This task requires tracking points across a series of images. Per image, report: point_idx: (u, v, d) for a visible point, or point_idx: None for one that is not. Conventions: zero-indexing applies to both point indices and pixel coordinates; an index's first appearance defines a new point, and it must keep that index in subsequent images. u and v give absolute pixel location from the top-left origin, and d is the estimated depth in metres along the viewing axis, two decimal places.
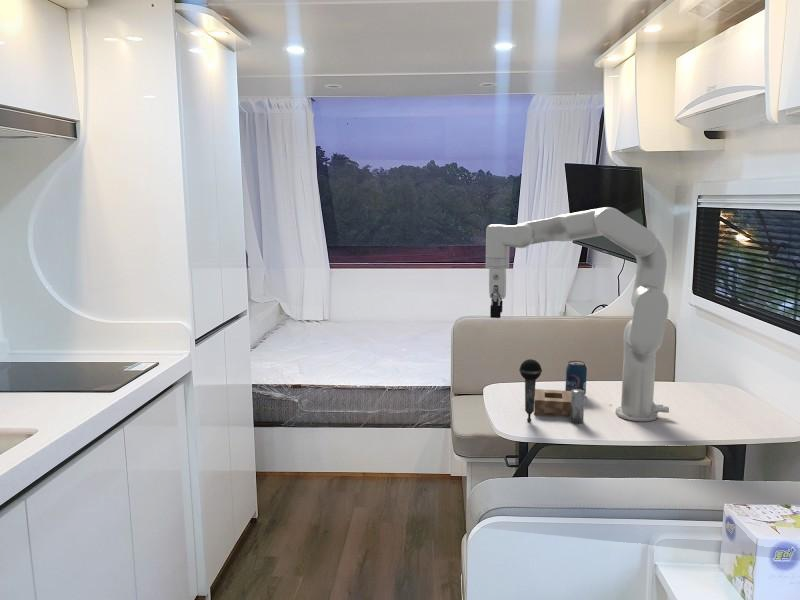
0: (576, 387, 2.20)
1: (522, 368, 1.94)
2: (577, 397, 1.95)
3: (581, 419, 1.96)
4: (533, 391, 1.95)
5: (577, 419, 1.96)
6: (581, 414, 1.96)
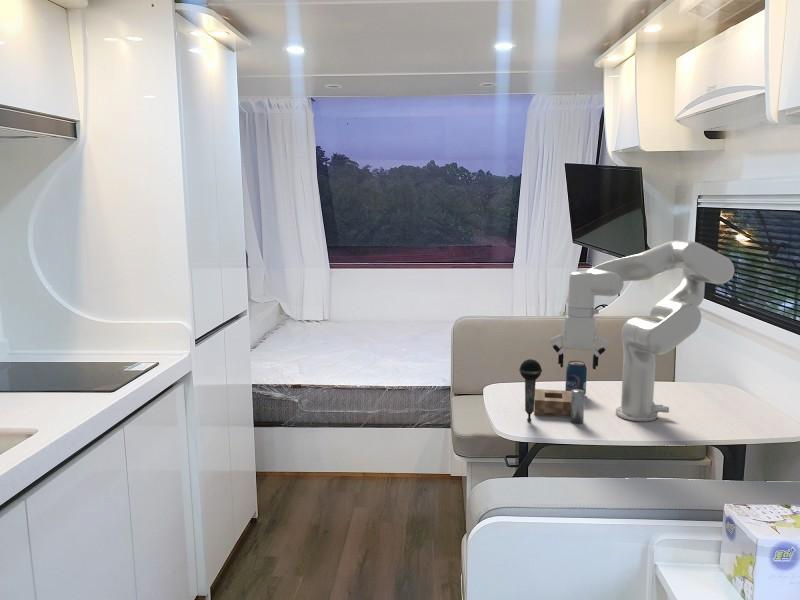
0: (576, 387, 2.20)
1: (522, 368, 1.94)
2: (577, 397, 1.95)
3: (581, 419, 1.96)
4: (533, 391, 1.95)
5: (577, 419, 1.96)
6: (581, 414, 1.96)
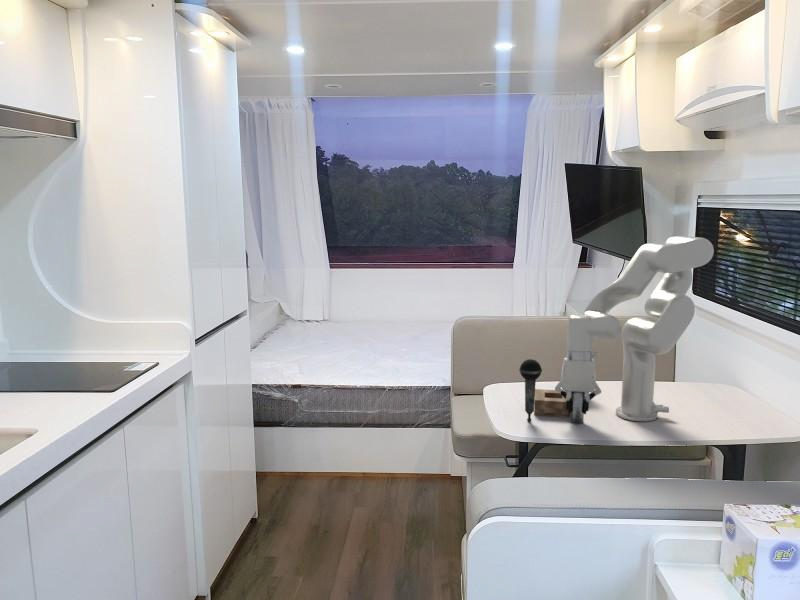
0: None
1: (522, 368, 1.94)
2: (577, 397, 1.95)
3: (581, 419, 1.96)
4: (533, 391, 1.95)
5: (577, 419, 1.96)
6: (581, 414, 1.96)
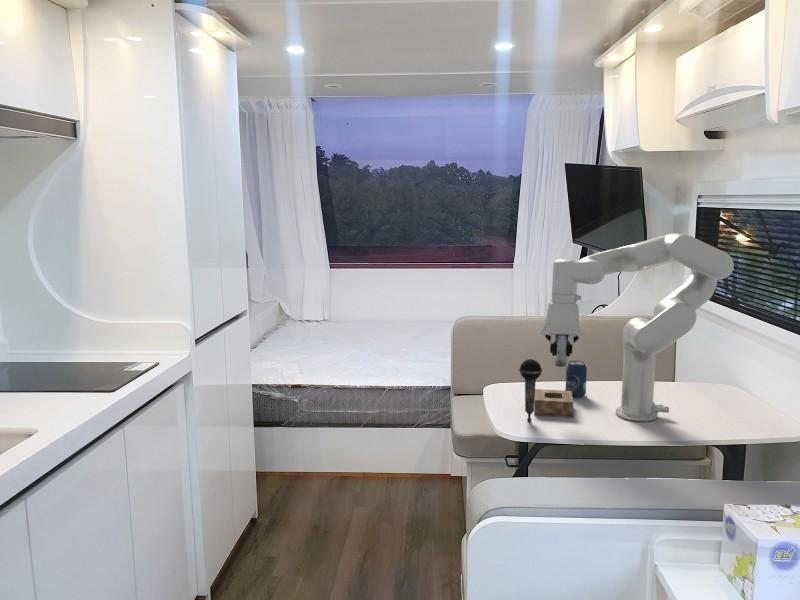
0: (576, 387, 2.20)
1: (522, 368, 1.94)
2: (562, 339, 1.99)
3: (565, 362, 2.01)
4: (533, 391, 1.95)
5: (561, 361, 2.01)
6: (565, 357, 2.01)
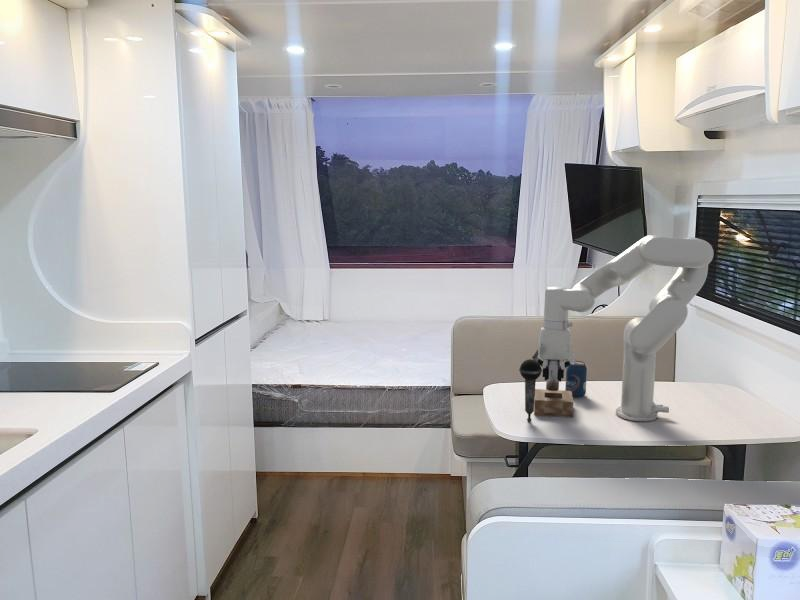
0: (576, 387, 2.20)
1: (522, 368, 1.94)
2: (553, 365, 2.05)
3: (556, 386, 2.06)
4: (533, 391, 1.95)
5: (552, 386, 2.06)
6: (556, 381, 2.06)
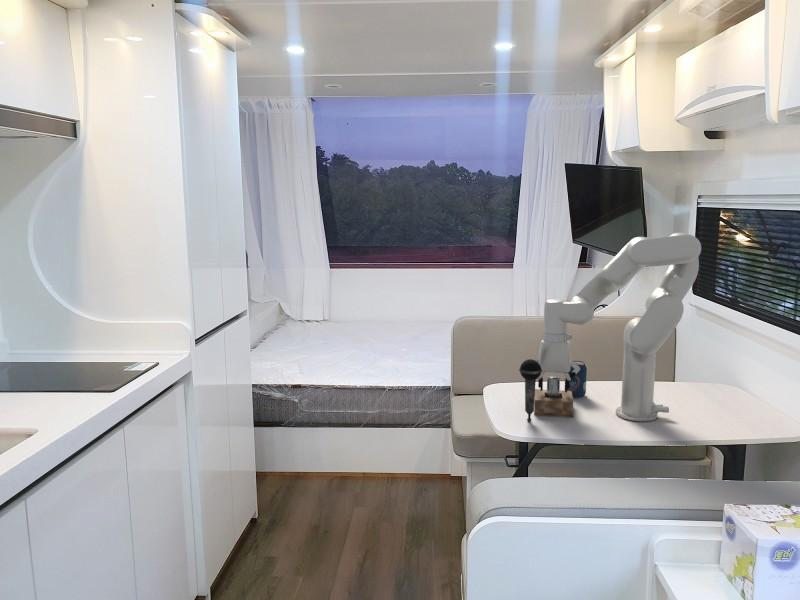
0: (576, 387, 2.20)
1: (522, 368, 1.94)
2: (553, 383, 2.06)
3: None
4: (533, 391, 1.95)
5: None
6: None
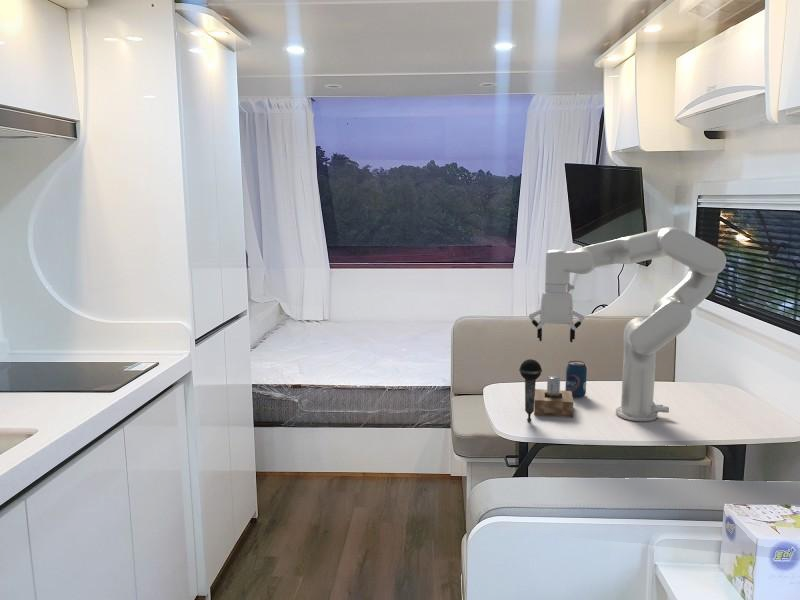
0: (576, 387, 2.20)
1: (522, 368, 1.94)
2: (553, 383, 2.05)
3: None
4: (533, 391, 1.95)
5: None
6: None
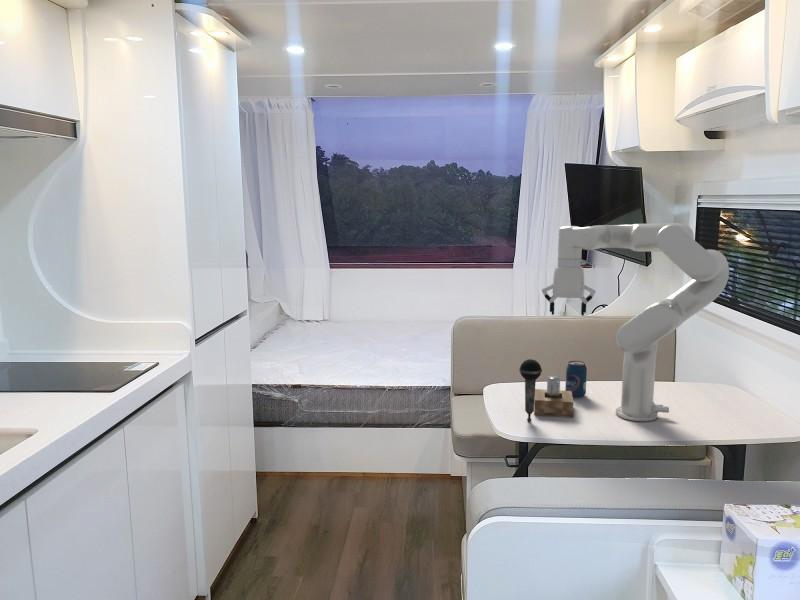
0: (576, 387, 2.20)
1: (522, 368, 1.94)
2: (553, 383, 2.05)
3: None
4: (533, 391, 1.95)
5: None
6: None
